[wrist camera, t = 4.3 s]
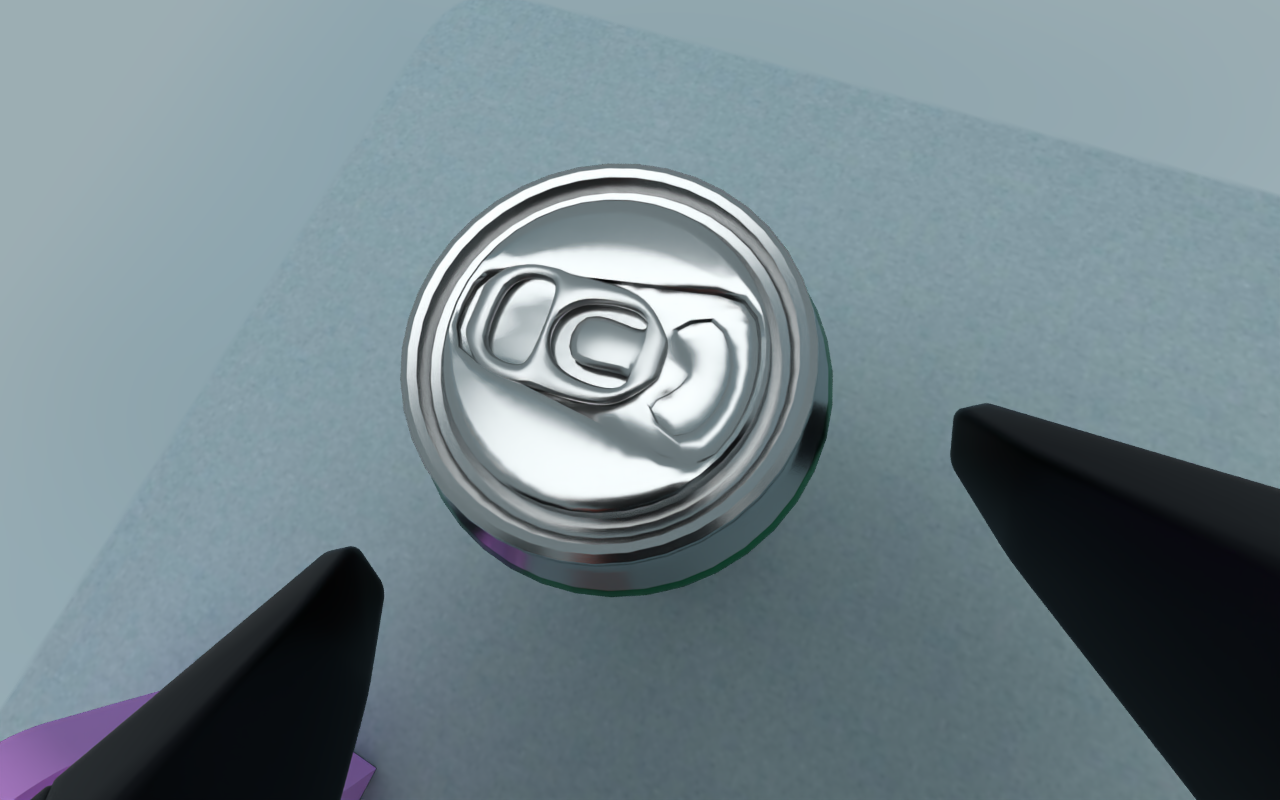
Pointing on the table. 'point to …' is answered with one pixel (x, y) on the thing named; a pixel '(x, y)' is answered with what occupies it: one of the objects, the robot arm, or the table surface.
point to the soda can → (617, 380)
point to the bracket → (43, 752)
